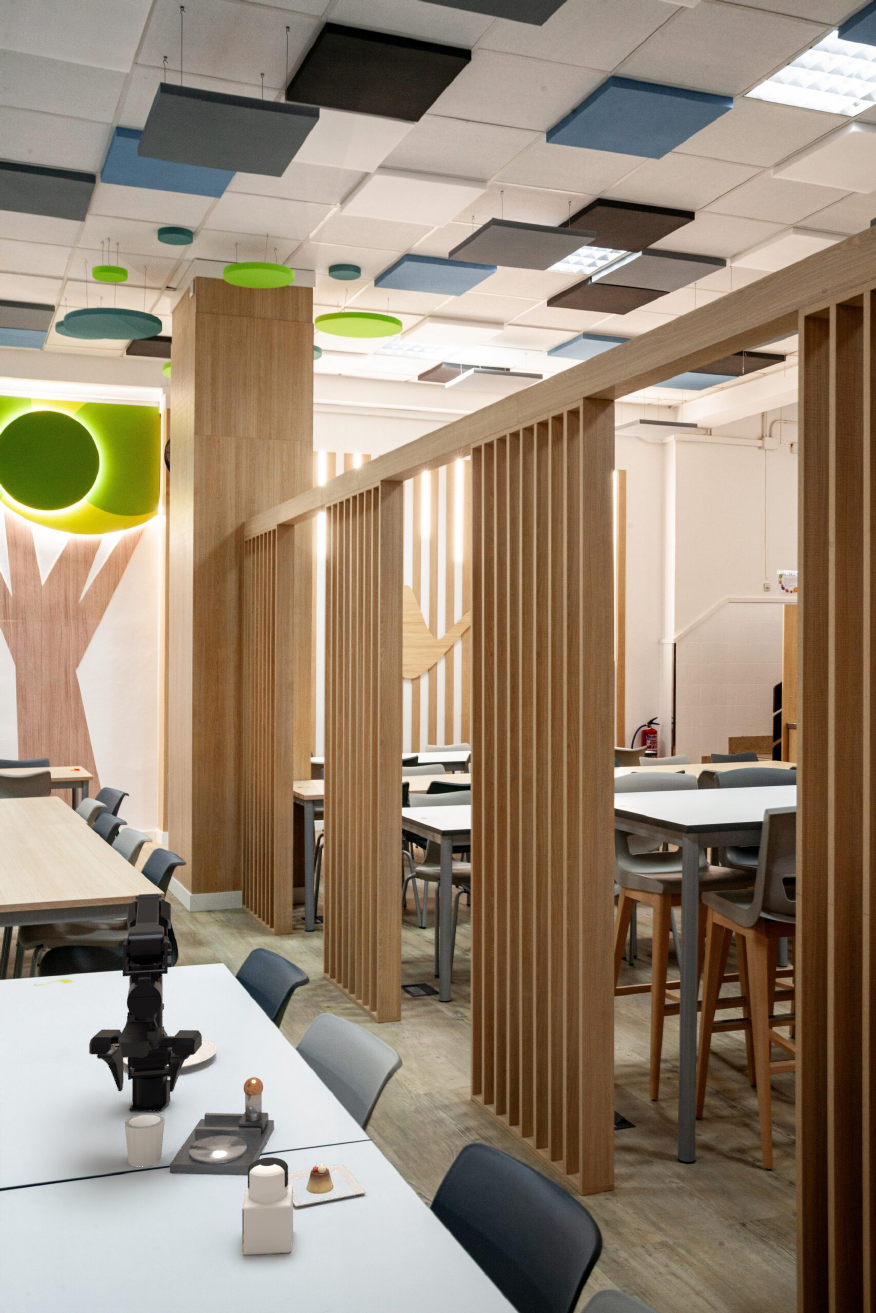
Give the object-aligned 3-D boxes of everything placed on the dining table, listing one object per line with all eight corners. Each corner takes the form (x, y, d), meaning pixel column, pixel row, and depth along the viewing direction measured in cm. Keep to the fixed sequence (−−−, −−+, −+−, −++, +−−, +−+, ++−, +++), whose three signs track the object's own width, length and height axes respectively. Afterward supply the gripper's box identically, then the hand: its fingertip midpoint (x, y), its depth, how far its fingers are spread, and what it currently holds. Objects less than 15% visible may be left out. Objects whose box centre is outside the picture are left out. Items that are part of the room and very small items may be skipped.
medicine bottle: (246, 1232, 174) (246, 1153, 174) (293, 1230, 175) (292, 1151, 175) (242, 1255, 167) (242, 1173, 167) (291, 1253, 167) (290, 1171, 168)
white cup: (154, 1169, 196) (154, 1129, 196) (117, 1166, 198) (117, 1126, 198) (171, 1153, 203) (171, 1114, 203) (135, 1150, 204) (135, 1111, 205)
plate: (100, 1071, 246) (100, 1061, 246) (158, 1042, 266) (158, 1033, 266) (180, 1084, 238) (180, 1073, 238) (234, 1053, 258) (234, 1043, 258)
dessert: (275, 1182, 192) (275, 1154, 192) (342, 1170, 197) (342, 1142, 197) (295, 1212, 181) (295, 1182, 181) (366, 1199, 186) (365, 1169, 186)
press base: (169, 1172, 195) (169, 1157, 195) (200, 1126, 215) (200, 1112, 215) (250, 1174, 194) (250, 1158, 194) (273, 1127, 214) (273, 1113, 214)
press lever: (238, 1131, 208) (238, 1082, 208) (244, 1121, 213) (244, 1073, 213) (262, 1131, 208) (262, 1082, 208) (268, 1121, 213) (267, 1073, 213)
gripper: (77, 1015, 193) (77, 1107, 193) (185, 1016, 193) (185, 1108, 192) (100, 996, 205) (100, 1084, 204) (202, 997, 204) (202, 1085, 203)
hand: (146, 1090), depth 201 cm, fingers open, 9 cm apart
